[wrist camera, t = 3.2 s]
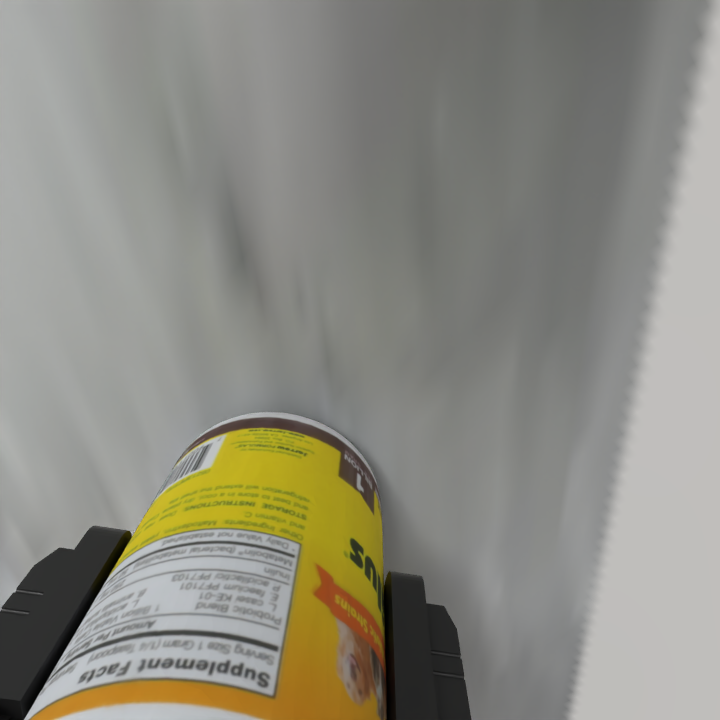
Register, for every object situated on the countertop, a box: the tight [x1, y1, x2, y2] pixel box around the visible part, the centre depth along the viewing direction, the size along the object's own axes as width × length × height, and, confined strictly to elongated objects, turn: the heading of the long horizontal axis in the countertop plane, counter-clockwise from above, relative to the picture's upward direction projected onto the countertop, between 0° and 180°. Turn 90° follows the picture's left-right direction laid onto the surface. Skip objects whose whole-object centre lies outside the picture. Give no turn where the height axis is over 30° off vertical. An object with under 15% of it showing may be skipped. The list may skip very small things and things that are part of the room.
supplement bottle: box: [24, 412, 387, 720], centre depth 9 cm, size 6×6×10 cm
